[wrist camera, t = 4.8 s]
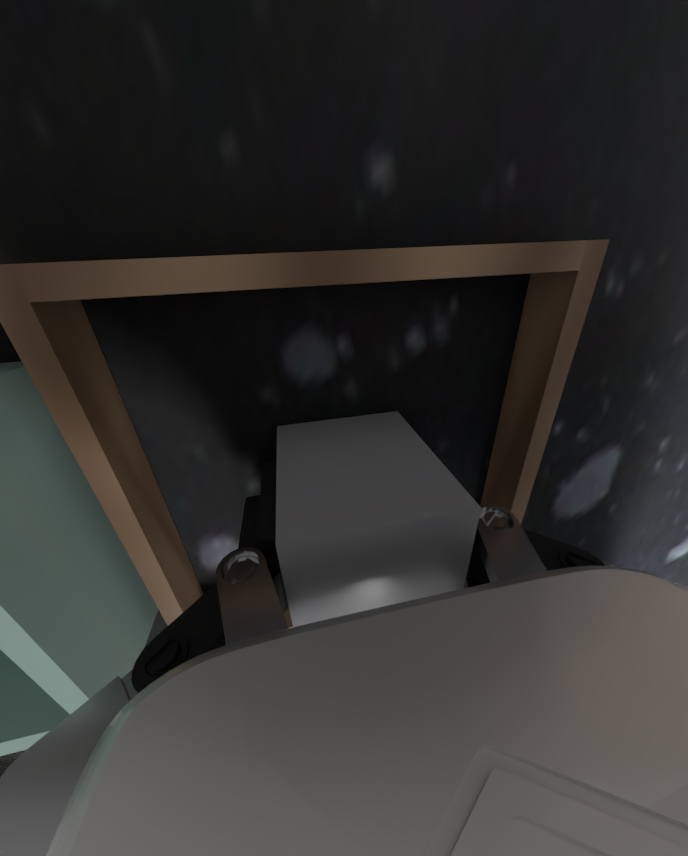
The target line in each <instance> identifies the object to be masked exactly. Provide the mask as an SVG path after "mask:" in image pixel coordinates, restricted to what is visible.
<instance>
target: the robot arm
mask: <svg viewBox="0 0 688 856" xmlns="http://www.w3.org/2000/svg"><path fill="white" fill-rule="evenodd" d="M276 467H277V460H275V461H268V462H263V471H262V483H261V495H258V496H252V497H247V498H246V501H245V507H244V514H243V521H242V528H241V534H240V541H239V548H238V549H236V550H235V551H233V552H231V553H229V554H228V555H227V556H225V557H224V558H223V559H222V561H221V562H220V563H219V565H218V567H217V570H216V581H217V582H216V583H215V584H214V585H213V586H212V587H211V588H210V589H209V590H208V591H206V592H205V593H204V594H203V595H202V596H201V597H200V598H199V599H198V600H196V601H195V602H194V603H193V604H192V605H191V606H190V607H189V608H188V609H186V610H185V611H184V612H183V613H182V614H181V615H180V616H179V617H178V618H176V619H175V620H174V621H173V622H172V623H171V624H170V625H169V626H168V627H166V628H165V629H164V630H163V631H162V632H161V633H160V634H159V635H158V636H156V637H155V638H154V639H153V640H152V641H151V642H150V643H149V644H148V645H147V646H146V647H145V648H144V649H143V650H142V652H141V653H140V655H139V656H138V658H137V660H136V661H135V664H134V667H133V669H132V670H131V671H130V672H129V673H128V674H126V675H125V676H124V677H123V678H120V677H119V676H117V677H116V678H115V679H113V680H112V681H111V682H110V683H109V684H107V685H106V686H105V687H104V688H102V689H101V690H100V691H99V692H97V693H96V694H95V695H94V696H92V697H91V698H90V699H89V700H88V701H86V702H85V703H84V704H83V705H81V706H80V707H79V708H78V709H76V710H75V711H74V712H73V713H71V714H70V715H69V716H68V717H67V718H65V719H64V720H63V721H62V722H60V723H59V724H58V725H57V726H55V727H54V728H53V729H52V730H50V731H49V732H48V733H47V734H46V735H44V736H43V737H42V738H41V739H39V740H38V741H37V742H36V743H34V744H33V745H32V746H31V747H29V748H28V749H27V750H26V751H25V752H23V753H22V754H21V755H20V756H19V757H18V758H17V759H16V760H15V761H14V762H13V763H12V764H11V765H10V766H9V767H8V768H7V770H6V771H5V772H4V774H3V775H2V776H1V778H0V856H688V587H686V586H683V585H680V584H677V583H673V582H670V581H668V580H666V579H664V578H661V577H659V576H656V575H654V574H650V573H647V572H643V571H639V570H634V569H628V568H623V567H620V566H616V565H613V564H609V565H608V566H605V565H604V564H603V563H602V562H601V561H600V560H599V559H598V558H596V557H595V556H593V555H592V554H590V553H588V552H586V551H584V550H582V549H579V548H576V547H573V546H571V545H568V544H565V543H562V542H559V541H556V540H554V539H551V538H548V537H545V536H542V535H539V534H537V533H534V532H531V531H528V530H525V529H523V528H522V526H521V524H520V522H519V521H518V519H517V518H516V516H515V515H514V514H513V513H512V512H510V511H509V510H508V509H506V508H504V507H501V506H498V505H495V504H481V505H479V504H478V503H477V504H478V505H479V506H480V507H481V511H480V516H479V521H478V525H477V530H476V534H475V539H474V544H473V548H472V553H471V557H470V562H469V567H468V571H467V576H466V580H465V585H464V589H460V590H455V591H451V592H446V593H442V594H437V595H433V596H428V597H424V598H419V599H415V600H410V601H406V602H401V603H397V604H392V605H388V606H384V607H379V608H375V609H370V610H366V611H362V612H357V613H353V614H349V615H344V616H340V617H336V618H331V619H327V620H323V621H318V622H314V623H310V624H305V625H301V626H297V627H293V628H289V629H288V626H287V623H286V620H285V617H284V613H285V611H286V610H287V609H288V607H289V606H288V601H287V596H286V592H285V587H284V583H283V578H282V573H281V569H280V564H279V560H278V555H277V550H276ZM447 469H448V468H447ZM448 470H449V469H448ZM451 474H452V473H451ZM452 475H453V474H452ZM453 476H454V475H453ZM454 477H455V476H454ZM458 482H459V481H458ZM459 483H460V482H459ZM460 484H461V483H460ZM461 485H462V484H461ZM464 489H465V488H464ZM465 490H466V489H465ZM466 491H467V490H466ZM467 492H468V491H467ZM471 497H472V496H471ZM472 498H473V497H472ZM473 499H474V498H473ZM474 500H475V499H474Z"/></svg>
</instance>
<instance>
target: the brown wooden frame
mask: <svg viewBox="0 0 688 856" xmlns="http://www.w3.org/2000/svg"><path fill="white" fill-rule="evenodd" d="M609 241H610V239H605V240H580V241H556V242H532V243H508V244H483V245H459V246H435V247H410V248H386V249H362V250H337V251H313V252H289V253H265V254H240V255H216V256H192V257H167V258H143V259H119V260H94V261H70V262H46V263H22V264H0V323H1V324H2V326H3V328H4V330H5V332H6V334H7V335H8V337H9V339H10V341H11V343H12V344H13V346H14V348H15V350H16V352H17V353H18V355H19V357H20V359H21V361H22V363H23V364H24V366H25V368H26V370H27V372H28V373H29V375H30V377H31V379H32V381H33V382H34V384H35V386H36V388H37V390H38V392H39V393H40V395H41V397H42V399H43V401H44V402H45V404H46V406H47V408H48V410H49V411H50V413H51V415H52V417H53V419H54V421H55V422H56V424H57V426H58V428H59V430H60V431H61V433H62V435H63V437H64V439H65V440H66V442H67V444H68V446H69V448H70V450H71V451H72V453H73V455H74V457H75V459H76V460H77V462H78V464H79V466H80V468H81V469H82V471H83V473H84V475H85V477H86V479H87V480H88V482H89V484H90V486H91V488H92V489H93V491H94V493H95V495H96V497H97V498H98V500H99V502H100V504H101V506H102V508H103V509H104V511H105V513H106V515H107V517H108V518H109V520H110V522H111V524H112V526H113V527H114V529H115V531H116V533H117V535H118V537H119V538H120V540H121V542H122V544H123V546H124V547H125V549H126V551H127V553H128V555H129V556H130V558H131V560H132V562H133V564H134V566H135V567H136V569H137V571H138V573H139V575H140V576H141V578H142V580H143V582H144V584H145V585H146V587H147V589H148V591H149V593H150V595H151V596H152V598H153V600H154V602H155V604H156V605H157V607H158V609H159V611H160V613H161V614H162V616H163V618H164V620H165V622H166V624H167V625H168V626H169V625H170V624H171V623H172V622H173V621H174V620H175V619H176V618H178V617H179V616H180V615H181V614H182V613H183V612H184V611H185V610H186V609H188V608H189V607H190V606H191V605H192V604H193V603H194V602H195V601H196V600H198V599H199V598H200V597H201V596H202V595H203V591H202V589H201V586H200V584H199V582H198V579H197V577H196V575H195V572H194V570H193V567H192V565H191V563H190V560H189V558H188V555H187V553H186V551H185V548H184V546H183V544H182V541H181V539H180V536H179V534H178V532H177V529H176V527H175V524H174V522H173V520H172V517H171V515H170V513H169V510H168V508H167V505H166V503H165V501H164V498H163V496H162V494H161V491H160V489H159V486H158V484H157V482H156V479H155V477H154V474H153V472H152V470H151V467H150V465H149V463H148V460H147V458H146V455H145V453H144V451H143V448H142V446H141V443H140V441H139V439H138V436H137V434H136V432H135V429H134V427H133V424H132V422H131V420H130V417H129V415H128V412H127V410H126V408H125V405H124V403H123V401H122V398H121V396H120V393H119V391H118V389H117V386H116V384H115V381H114V379H113V377H112V374H111V372H110V370H109V367H108V365H107V362H106V360H105V358H104V355H103V353H102V351H101V348H100V346H99V343H98V341H97V339H96V336H95V334H94V331H93V329H92V327H91V324H90V322H89V320H88V317H87V315H86V312H85V310H84V308H83V305H82V303H81V299H99V298H116V297H133V296H150V295H167V294H184V293H202V292H219V291H236V290H253V289H270V288H287V287H304V286H322V285H339V284H356V283H373V282H390V281H407V280H425V279H442V278H459V277H476V276H493V275H510V274H527V273H531V275H530V279H529V284H528V288H527V293H526V298H525V302H524V307H523V311H522V316H521V321H520V325H519V330H518V334H517V339H516V344H515V348H514V353H513V357H512V362H511V367H510V371H509V376H508V380H507V385H506V390H505V394H504V399H503V403H502V408H501V413H500V417H499V422H498V427H497V431H496V436H495V440H494V445H493V450H492V454H491V459H490V463H489V468H488V473H487V477H486V482H485V486H484V491H483V496H482V500H481V504H495V505H498V506H501V507H504V508H506V509H508V510H509V511H510V512H512V513H513V514H514V515H515V516H516V518H517V519H518V521H519V522H520V524H521V523H522V520H523V517H524V514H525V510H526V507H527V504H528V501H529V498H530V494H531V491H532V488H533V485H534V482H535V478H536V475H537V472H538V469H539V465H540V462H541V459H542V456H543V453H544V449H545V446H546V443H547V440H548V437H549V433H550V430H551V427H552V424H553V421H554V417H555V414H556V411H557V408H558V405H559V401H560V398H561V395H562V392H563V389H564V385H565V382H566V379H567V376H568V372H569V369H570V366H571V363H572V360H573V356H574V353H575V350H576V347H577V344H578V340H579V337H580V334H581V331H582V328H583V324H584V321H585V318H586V315H587V312H588V308H589V305H590V302H591V299H592V295H593V292H594V289H595V286H596V283H597V279H598V276H599V273H600V270H601V267H602V263H603V260H604V257H605V254H606V251H607V247H608V244H609ZM284 617H285V620H286V623H287V626H288V629H289V628H293V624H292V620H291V615H290V610H289V607H288V609H287V610H286V611H285V613H284Z"/></svg>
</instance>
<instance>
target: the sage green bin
mask: <svg viewBox="0 0 688 856" xmlns="http://www.w3.org/2000/svg"><path fill="white" fill-rule="evenodd" d="M157 611H158V607H157V605H156V604H155V602H154V600H153V598H152V596H151V595H150V593H149V591H148V589H147V587H146V585H145V584H144V582H143V580H142V578H141V576H140V575H139V573H138V571H137V569H136V567H135V566H134V564H133V562H132V560H131V558H130V556H129V555H128V553H127V551H126V549H125V547H124V546H123V544H122V542H121V540H120V538H119V537H118V535H117V533H116V531H115V529H114V527H113V526H112V524H111V522H110V520H109V518H108V517H107V515H106V513H105V511H104V509H103V508H102V506H101V504H100V502H99V500H98V498H97V497H96V495H95V493H94V491H93V489H92V488H91V486H90V484H89V482H88V480H87V479H86V477H85V475H84V473H83V471H82V469H81V468H80V466H79V464H78V462H77V460H76V459H75V457H74V455H73V453H72V451H71V450H70V448H69V446H68V444H67V442H66V440H65V439H64V437H63V435H62V433H61V431H60V430H59V428H58V426H57V424H56V422H55V421H54V419H53V417H52V415H51V413H50V411H49V410H48V408H47V406H46V404H45V402H44V401H43V399H42V397H41V395H40V393H39V392H38V390H37V388H36V386H35V384H34V382H33V381H32V379H31V377H30V375H29V373H28V372H27V370H26V368H25V366H24V364H23V363H22V361H19V362H7V363H0V756H3V755H7V754H11V753H15V752H19V751H23V750H27V749H28V748H29V747H31V746H32V745H33V744H34V743H36V742H37V741H38V740H39V739H41V738H42V737H43V736H44V735H46V734H47V733H48V732H49V731H50V730H52V729H53V728H54V727H55V726H57V725H58V724H59V723H60V722H62V721H63V720H64V719H65V718H67V717H68V716H69V715H70V714H71V713H73V712H74V711H75V710H76V709H78V708H79V707H80V706H81V705H83V704H84V703H85V702H86V701H88V700H89V699H90V698H91V697H92V696H94V695H95V694H96V693H97V692H99V691H100V690H101V689H102V688H104V687H105V686H106V685H107V684H109V683H110V682H111V681H112V680H113V679H115V678H116V677H117V676H119V677H120V678H123V677H124V676H125V675H126V674H128V673H129V672H130V671H131V670H132V669H133V667H134V664H135V661H136V660H137V658H138V656H139V655H140V653H141V652H142V650H143V649H144V647H145V644H146V641H147V639H148V636H149V633H150V630H151V627H152V625H153V622H154V619H155V616H156V614H157Z"/></svg>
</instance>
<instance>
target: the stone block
mask: <svg viewBox="0 0 688 856" xmlns="http://www.w3.org/2000/svg"><path fill="white" fill-rule="evenodd" d="M480 511H481V507H480V506H479V505H478V504H477V502H476V501H475V500H474V499H473V498H472V497H471V495H470V494H469V493H468V492H467V491H466V490H465V489H464V487H463V486H462V485H461V484H460V483H459V482H458V480H457V479H456V478H455V477H454V476H453V475H452V474H451V472H450V471H449V470H448V469H447V468H446V467H445V465H444V464H443V463H442V462H441V461H440V460H439V459H438V457H437V456H436V455H435V454H434V453H433V452H432V450H431V449H430V448H429V447H428V446H427V445H426V444H425V442H424V441H423V440H422V439H421V438H420V437H419V435H418V434H417V433H416V432H415V431H414V430H413V429H412V427H411V426H410V425H409V424H408V423H407V422H406V420H405V419H404V418H403V417H402V416H401V415H400V414H399V412H398V411H393V412H385V413H377V414H369V415H361V416H354V417H346V418H338V419H330V420H322V421H314V422H306V423H298V424H290V425H282V426H277V467H276V550H277V555H278V560H279V564H280V569H281V573H282V578H283V583H284V587H285V592H286V596H287V601H288V606H289V610H290V615H291V620H292V624H293V627H297V626H301V625H305V624H310V623H314V622H318V621H323V620H327V619H331V618H336V617H340V616H344V615H349V614H353V613H357V612H362V611H366V610H370V609H375V608H379V607H384V606H388V605H392V604H397V603H401V602H406V601H410V600H415V599H419V598H424V597H428V596H433V595H437V594H442V593H446V592H451V591H455V590H460V589H464V585H465V580H466V576H467V571H468V567H469V562H470V557H471V553H472V548H473V544H474V539H475V534H476V530H477V525H478V521H479V516H480Z"/></svg>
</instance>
